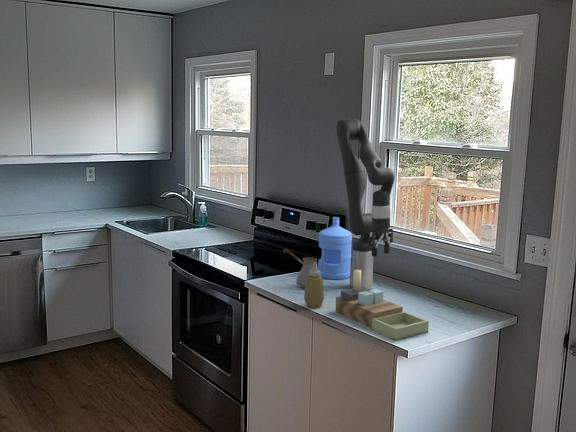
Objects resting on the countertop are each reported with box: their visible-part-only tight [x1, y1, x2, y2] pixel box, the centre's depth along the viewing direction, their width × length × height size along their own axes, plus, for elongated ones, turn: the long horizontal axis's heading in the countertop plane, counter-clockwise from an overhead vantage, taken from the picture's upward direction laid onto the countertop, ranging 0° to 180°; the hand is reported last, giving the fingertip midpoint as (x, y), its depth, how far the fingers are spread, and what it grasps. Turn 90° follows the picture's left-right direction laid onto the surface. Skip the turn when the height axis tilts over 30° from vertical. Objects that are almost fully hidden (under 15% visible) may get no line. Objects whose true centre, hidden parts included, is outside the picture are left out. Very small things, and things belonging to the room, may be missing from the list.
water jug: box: [317, 216, 353, 280], centre depth 283 cm, size 16×16×28 cm
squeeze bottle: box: [303, 261, 325, 309], centre depth 237 cm, size 8×8×18 cm
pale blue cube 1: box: [358, 291, 374, 306], centre depth 224 cm, size 4×4×4 cm
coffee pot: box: [282, 248, 318, 290], centre depth 267 cm, size 21×12×15 cm, turn 46°
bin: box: [371, 311, 430, 341], centre depth 213 cm, size 12×16×4 cm
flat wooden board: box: [334, 295, 404, 329], centre depth 227 cm, size 22×14×6 cm, turn 34°
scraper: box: [340, 270, 371, 301], centre depth 231 cm, size 6×11×10 cm, turn 124°
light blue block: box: [368, 288, 384, 304], centre depth 227 cm, size 4×4×4 cm
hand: (380, 255), depth 248 cm, fingers open, 8 cm apart
